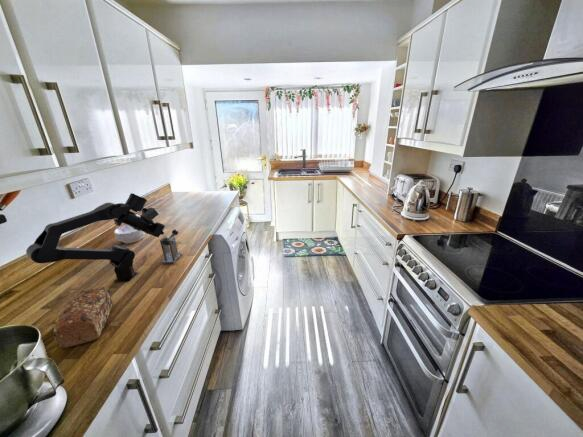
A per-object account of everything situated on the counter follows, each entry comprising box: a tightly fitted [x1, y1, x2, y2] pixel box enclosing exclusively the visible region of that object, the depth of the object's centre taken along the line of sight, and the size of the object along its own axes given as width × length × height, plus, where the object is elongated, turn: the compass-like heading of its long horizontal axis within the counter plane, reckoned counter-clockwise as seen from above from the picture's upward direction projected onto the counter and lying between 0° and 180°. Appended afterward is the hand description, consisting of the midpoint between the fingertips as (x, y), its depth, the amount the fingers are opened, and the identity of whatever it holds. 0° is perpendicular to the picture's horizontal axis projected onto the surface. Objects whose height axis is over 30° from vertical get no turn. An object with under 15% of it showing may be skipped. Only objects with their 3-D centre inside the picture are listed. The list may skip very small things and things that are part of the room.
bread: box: [52, 286, 114, 348], centre depth 80 cm, size 19×11×10 cm, turn 22°
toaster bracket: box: [159, 236, 183, 265], centre depth 118 cm, size 9×6×12 cm, turn 179°
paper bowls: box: [113, 224, 147, 244], centre depth 141 cm, size 15×15×8 cm
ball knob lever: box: [164, 228, 179, 245], centre depth 120 cm, size 11×3×3 cm, turn 179°
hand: (163, 233), depth 118 cm, fingers closed
